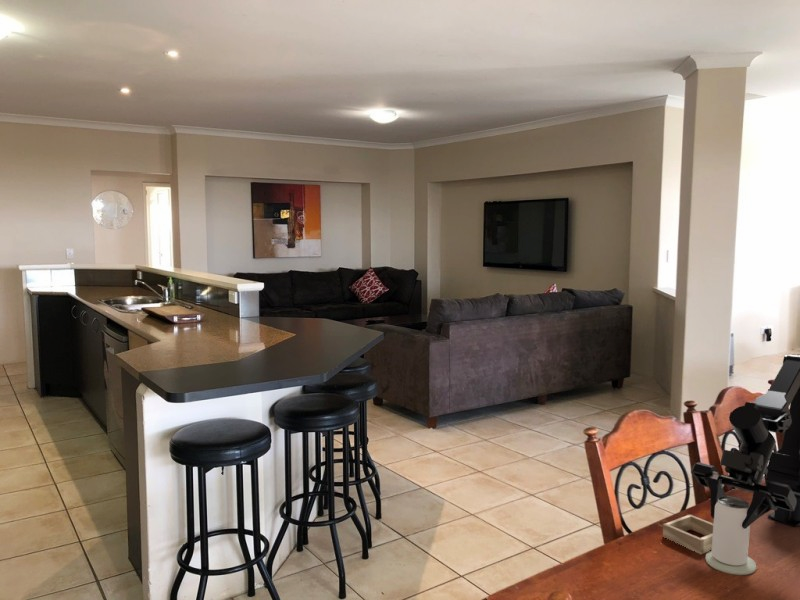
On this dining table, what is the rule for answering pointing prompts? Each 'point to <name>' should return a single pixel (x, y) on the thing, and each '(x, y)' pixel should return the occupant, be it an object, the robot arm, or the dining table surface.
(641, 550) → the dining table surface
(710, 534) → the holder
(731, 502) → the can
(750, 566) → the pale green flat disc
